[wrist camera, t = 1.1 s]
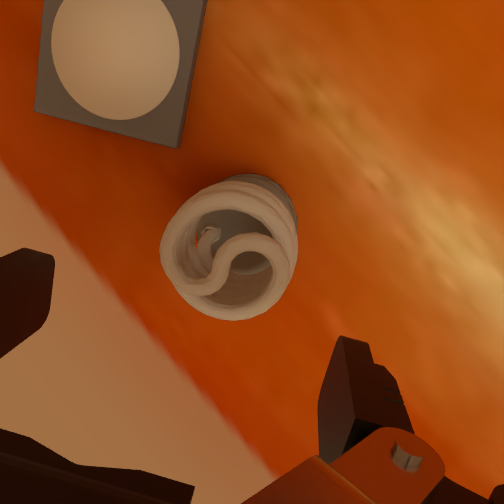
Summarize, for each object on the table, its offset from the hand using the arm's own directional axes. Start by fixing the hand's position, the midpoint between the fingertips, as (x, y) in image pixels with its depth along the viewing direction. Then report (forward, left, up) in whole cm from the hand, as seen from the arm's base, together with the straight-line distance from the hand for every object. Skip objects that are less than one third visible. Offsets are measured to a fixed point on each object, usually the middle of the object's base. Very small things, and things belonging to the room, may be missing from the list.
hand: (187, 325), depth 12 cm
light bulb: (0, 0, -17) cm, 17 cm away
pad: (-7, -10, -17) cm, 21 cm away
